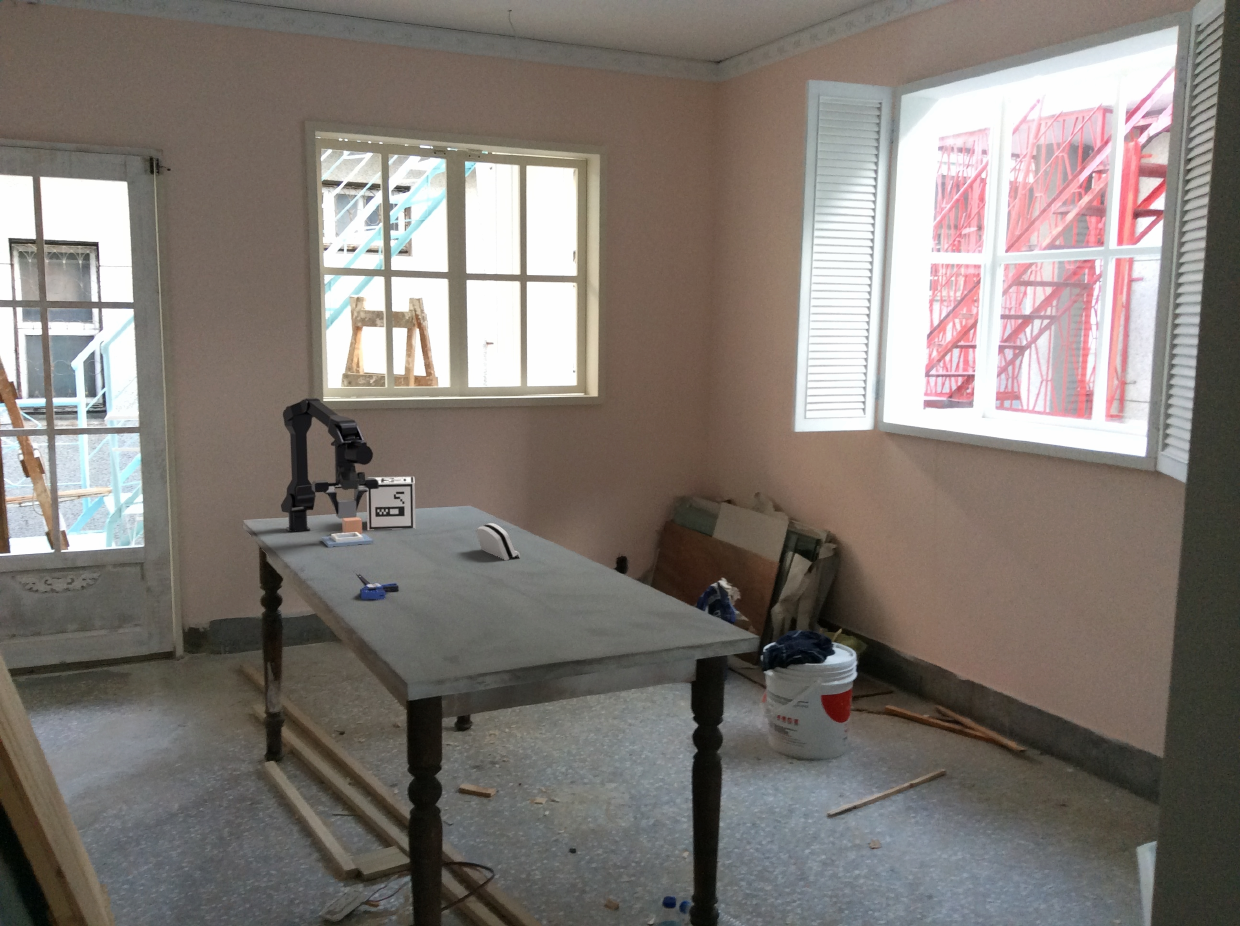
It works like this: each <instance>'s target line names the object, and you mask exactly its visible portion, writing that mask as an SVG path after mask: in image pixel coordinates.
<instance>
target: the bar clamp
mask: <svg viewBox="0 0 1240 926" xmlns="http://www.w3.org/2000/svg"><path fill="white" fill-rule="evenodd" d="M355 575H356V576H357V577H358V578H359V579H360V580H361V581H362V582H363V583H364V584H365V586H362V587H361V588H360V589H359V596H360V599H362V600H367V599H377V600H376V601H379V600H378V599H381V600H385V599H386V593H388V592H389V593H391V592H399V591H400V590H399V588H400V587H399V585H398V584H397V583H395V582H394V583H386V584H381V583H379V582H374V583H370V582H369V580H367V579H366V578H365V577H364V576H362V574H360V573H359V574H358V573H355ZM359 576H361V577H359ZM384 598H385V599H384Z"/></svg>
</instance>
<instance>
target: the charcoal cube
mask: <svg viewBox="0 0 1240 926" xmlns="http://www.w3.org/2000/svg"><path fill="white" fill-rule="evenodd" d="M337 505H338V514H336V513H335V516H336V517H337V518H338V519H340V520H342V518H355V517H357V511H356V500H354V497H353V498H341V499H340V498H339V499H338V498H337Z"/></svg>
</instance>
